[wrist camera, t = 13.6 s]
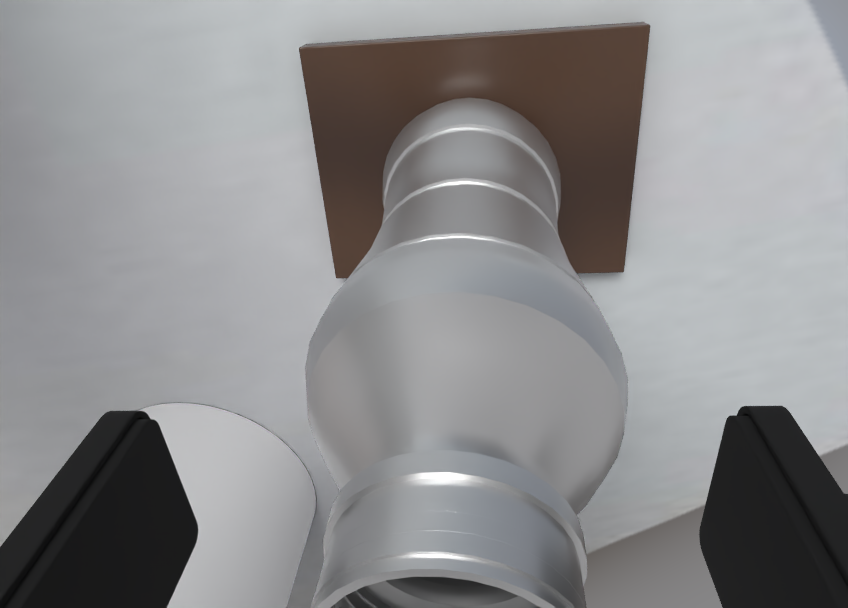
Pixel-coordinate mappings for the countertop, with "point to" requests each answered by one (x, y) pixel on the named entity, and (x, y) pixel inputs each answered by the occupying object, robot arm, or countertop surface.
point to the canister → (237, 507)
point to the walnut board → (496, 81)
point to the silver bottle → (463, 381)
